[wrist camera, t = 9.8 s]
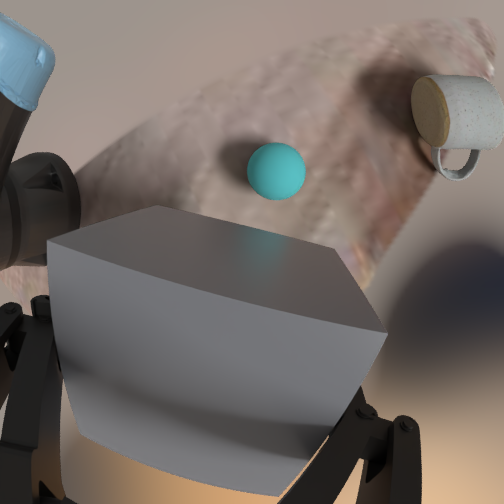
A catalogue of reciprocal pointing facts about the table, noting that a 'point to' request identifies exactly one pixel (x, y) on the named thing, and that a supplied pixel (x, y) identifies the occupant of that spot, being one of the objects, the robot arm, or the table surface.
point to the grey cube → (207, 344)
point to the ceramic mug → (457, 117)
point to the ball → (276, 171)
